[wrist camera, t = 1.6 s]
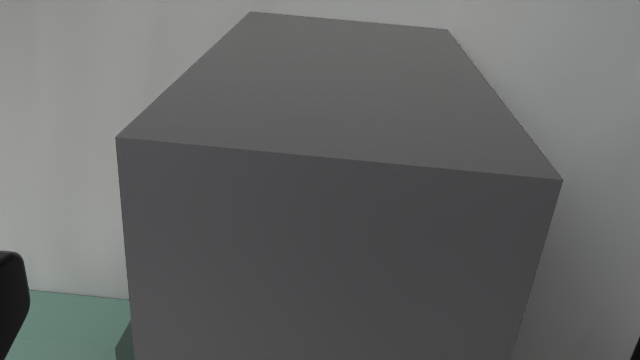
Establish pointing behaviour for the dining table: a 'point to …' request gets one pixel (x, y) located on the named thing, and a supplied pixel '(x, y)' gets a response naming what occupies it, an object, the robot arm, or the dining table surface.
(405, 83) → the block
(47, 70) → the dining table surface
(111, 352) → the header board
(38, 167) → the dining table surface
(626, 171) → the dining table surface
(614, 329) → the dining table surface
